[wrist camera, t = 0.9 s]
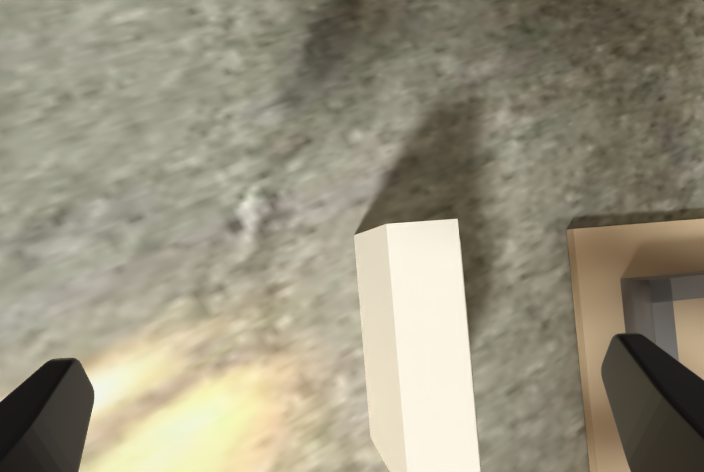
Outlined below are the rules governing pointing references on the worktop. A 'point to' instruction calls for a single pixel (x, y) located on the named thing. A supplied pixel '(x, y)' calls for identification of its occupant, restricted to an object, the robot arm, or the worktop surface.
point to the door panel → (417, 347)
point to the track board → (633, 309)
